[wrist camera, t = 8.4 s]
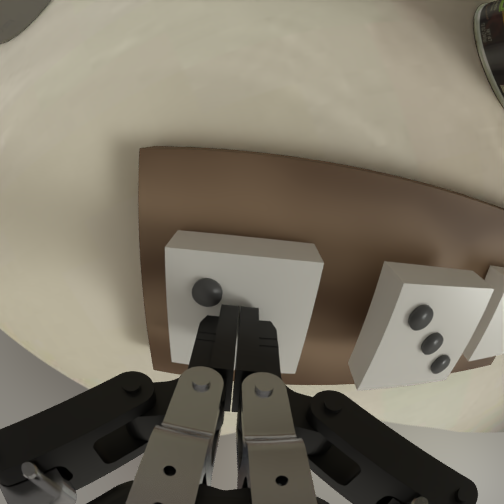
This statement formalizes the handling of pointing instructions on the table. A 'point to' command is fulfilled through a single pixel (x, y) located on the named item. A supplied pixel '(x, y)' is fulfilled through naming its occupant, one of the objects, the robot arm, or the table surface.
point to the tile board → (308, 236)
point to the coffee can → (491, 43)
